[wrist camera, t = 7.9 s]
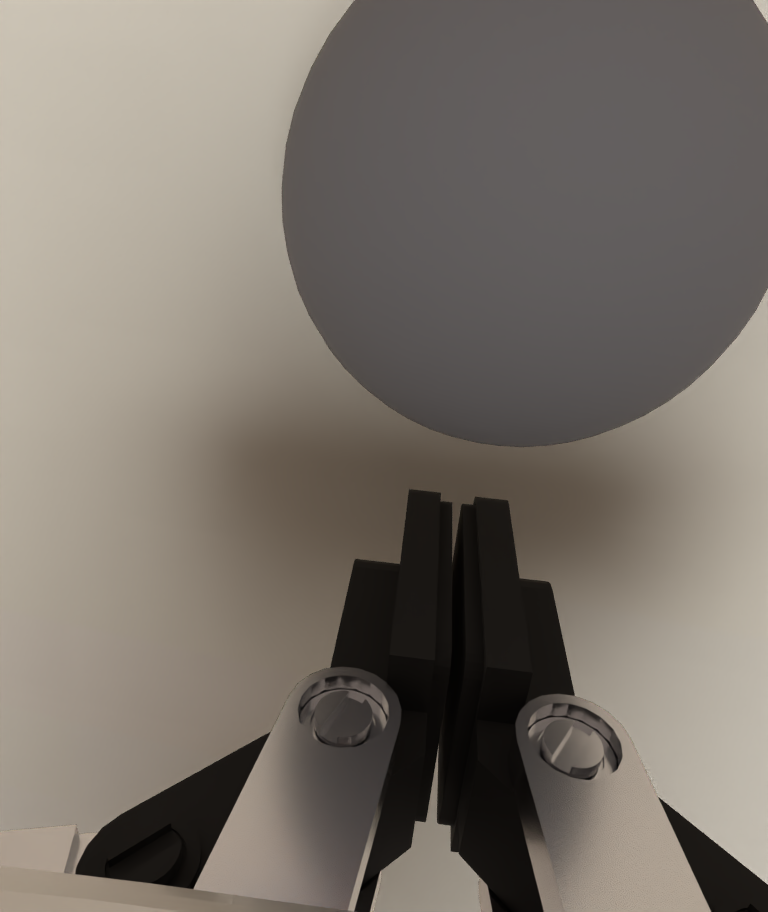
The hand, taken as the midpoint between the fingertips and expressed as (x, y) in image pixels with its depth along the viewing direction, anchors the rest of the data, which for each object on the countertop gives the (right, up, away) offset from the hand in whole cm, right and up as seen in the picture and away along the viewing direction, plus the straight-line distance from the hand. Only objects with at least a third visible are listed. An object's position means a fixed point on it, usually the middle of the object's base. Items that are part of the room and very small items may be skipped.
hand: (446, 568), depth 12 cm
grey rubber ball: (+1, +5, -4) cm, 6 cm away
